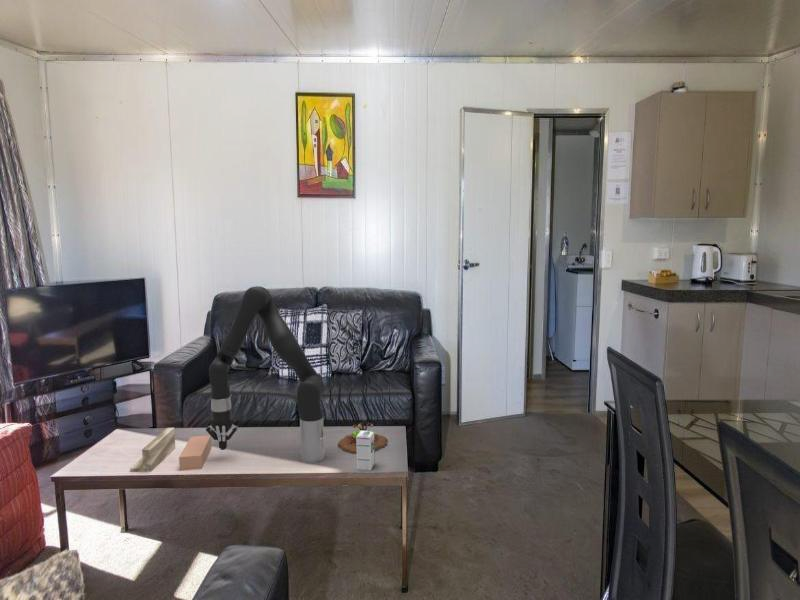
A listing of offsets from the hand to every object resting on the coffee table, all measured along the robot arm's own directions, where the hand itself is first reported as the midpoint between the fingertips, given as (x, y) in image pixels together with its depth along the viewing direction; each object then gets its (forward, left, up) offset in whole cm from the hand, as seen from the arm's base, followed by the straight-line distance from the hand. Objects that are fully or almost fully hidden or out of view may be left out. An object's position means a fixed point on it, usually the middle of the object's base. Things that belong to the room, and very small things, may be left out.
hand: (223, 449), depth 206 cm
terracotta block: (+11, 0, -4) cm, 12 cm away
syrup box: (-58, +10, -4) cm, 59 cm away
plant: (-56, -12, -5) cm, 57 cm away
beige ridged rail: (+25, 0, -4) cm, 26 cm away
